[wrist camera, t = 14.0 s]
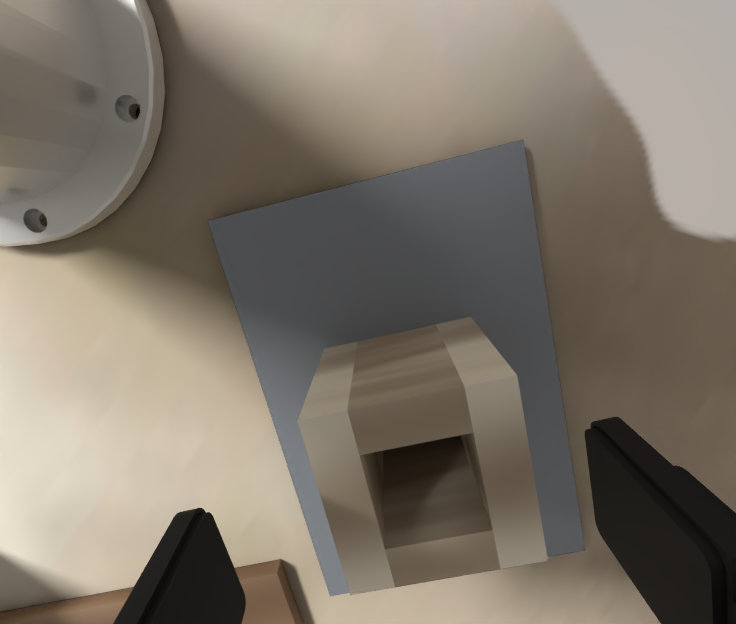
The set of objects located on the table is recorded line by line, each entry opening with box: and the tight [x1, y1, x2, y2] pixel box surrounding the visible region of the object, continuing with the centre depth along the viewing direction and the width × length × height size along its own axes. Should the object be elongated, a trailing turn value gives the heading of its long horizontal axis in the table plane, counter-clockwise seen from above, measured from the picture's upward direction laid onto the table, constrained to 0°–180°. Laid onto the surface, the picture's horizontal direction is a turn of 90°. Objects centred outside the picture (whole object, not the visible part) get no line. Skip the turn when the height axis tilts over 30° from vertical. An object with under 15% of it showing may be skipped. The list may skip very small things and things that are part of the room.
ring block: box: [298, 317, 548, 595], centre depth 15 cm, size 6×6×6 cm
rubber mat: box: [208, 140, 585, 596], centre depth 19 cm, size 18×12×1 cm, turn 14°
